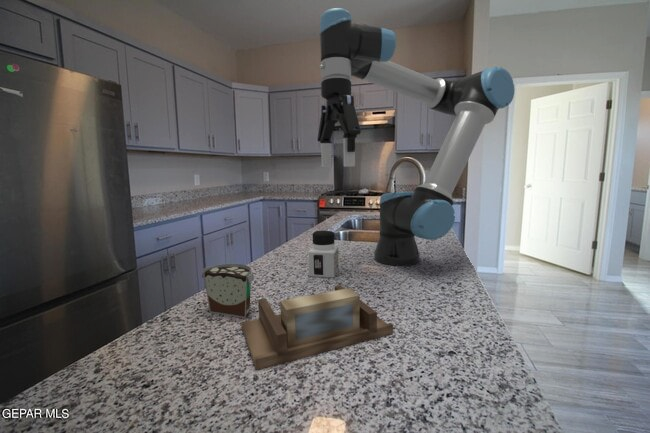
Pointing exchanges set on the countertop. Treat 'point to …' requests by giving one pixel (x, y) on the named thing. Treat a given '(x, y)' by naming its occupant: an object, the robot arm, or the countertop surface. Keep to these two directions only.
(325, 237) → the container
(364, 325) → the wooden slatted panel
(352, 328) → the tan rectangular block
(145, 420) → the countertop surface
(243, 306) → the food container
